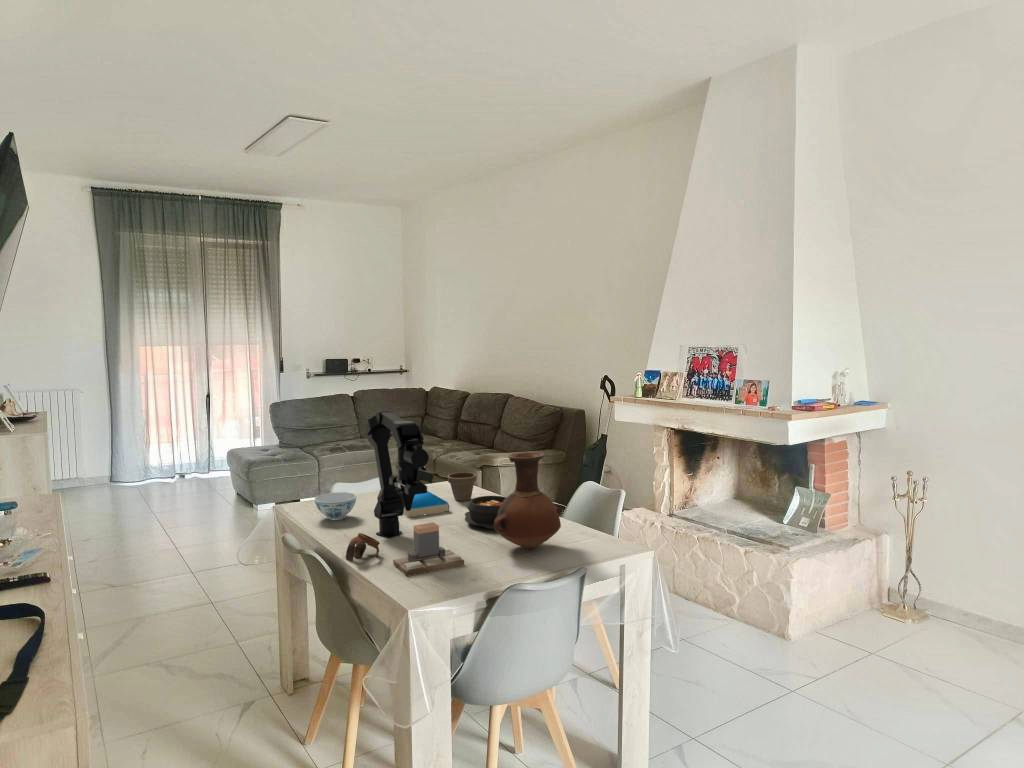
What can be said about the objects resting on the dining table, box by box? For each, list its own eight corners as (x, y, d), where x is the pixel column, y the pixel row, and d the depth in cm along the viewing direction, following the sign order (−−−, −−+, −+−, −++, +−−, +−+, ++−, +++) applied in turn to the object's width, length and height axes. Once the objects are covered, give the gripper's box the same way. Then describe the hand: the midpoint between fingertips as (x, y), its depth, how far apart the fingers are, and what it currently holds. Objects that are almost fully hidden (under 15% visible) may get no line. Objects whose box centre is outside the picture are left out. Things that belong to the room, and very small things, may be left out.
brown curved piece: (344, 554, 218) (357, 530, 220) (372, 567, 218) (384, 543, 220) (339, 557, 206) (352, 531, 208) (368, 571, 207) (381, 545, 208)
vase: (535, 533, 236) (535, 445, 234) (578, 547, 221) (578, 453, 219) (478, 549, 220) (476, 455, 218) (519, 565, 205) (518, 464, 203)
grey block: (413, 557, 208) (412, 525, 207) (434, 553, 211) (434, 522, 210) (418, 561, 205) (417, 529, 204) (440, 557, 208) (439, 525, 207)
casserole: (531, 528, 242) (531, 505, 241) (482, 537, 233) (482, 512, 232) (498, 511, 264) (498, 490, 263) (453, 518, 255) (452, 496, 254)
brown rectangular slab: (393, 564, 207) (393, 552, 207) (449, 554, 216) (449, 542, 216) (406, 576, 198) (406, 563, 197) (464, 565, 206) (464, 552, 206)
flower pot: (452, 504, 275) (452, 479, 274) (444, 497, 286) (444, 473, 285) (480, 501, 279) (480, 476, 278) (471, 494, 290) (471, 470, 289)
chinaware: (307, 521, 253) (306, 500, 252) (329, 510, 267) (328, 491, 267) (343, 524, 249) (343, 503, 248) (364, 513, 263) (363, 493, 262)
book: (407, 508, 257) (385, 493, 278) (407, 520, 257) (385, 503, 279) (450, 502, 265) (425, 487, 287) (450, 513, 265) (425, 498, 287)
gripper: (442, 464, 216) (443, 514, 217) (420, 454, 232) (421, 500, 234) (408, 468, 211) (409, 519, 212) (388, 458, 227) (389, 505, 228)
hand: (408, 510), depth 222 cm, fingers closed
